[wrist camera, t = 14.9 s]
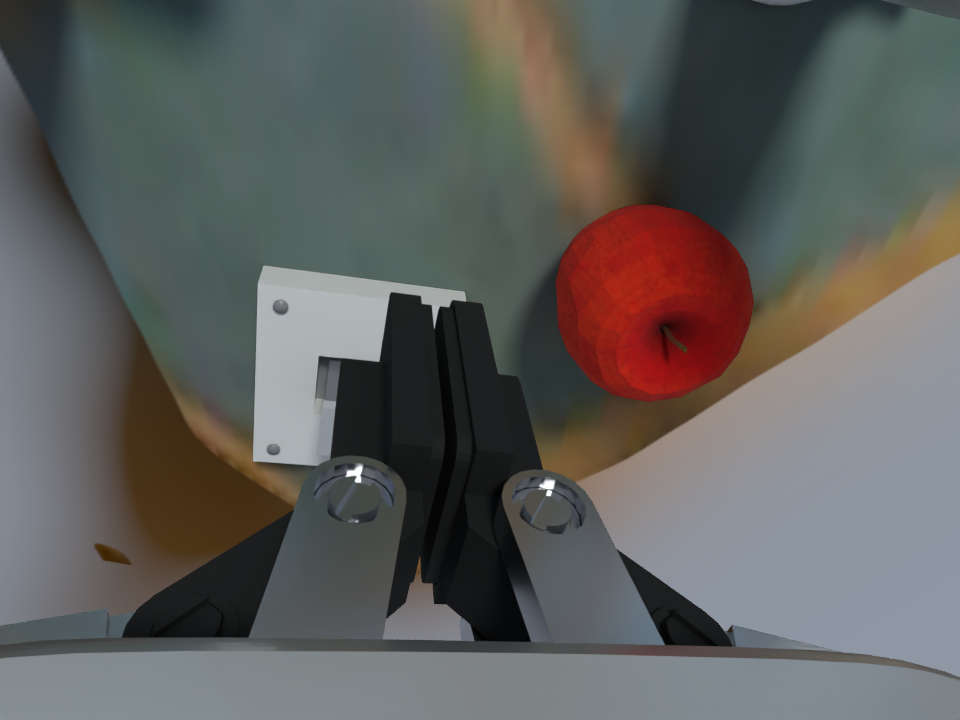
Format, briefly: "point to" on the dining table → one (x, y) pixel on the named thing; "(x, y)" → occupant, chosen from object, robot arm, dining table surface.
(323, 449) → the plug
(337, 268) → the dining table surface
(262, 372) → the socket plate
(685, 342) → the apple
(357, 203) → the dining table surface
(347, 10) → the dining table surface
